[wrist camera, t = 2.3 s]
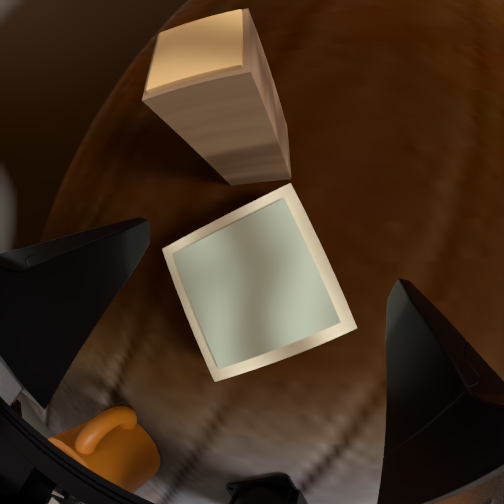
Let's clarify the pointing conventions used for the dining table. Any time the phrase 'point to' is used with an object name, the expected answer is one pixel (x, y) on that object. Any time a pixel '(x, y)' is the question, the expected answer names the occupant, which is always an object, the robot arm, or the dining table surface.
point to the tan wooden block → (221, 97)
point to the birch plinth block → (257, 286)
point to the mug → (113, 448)
